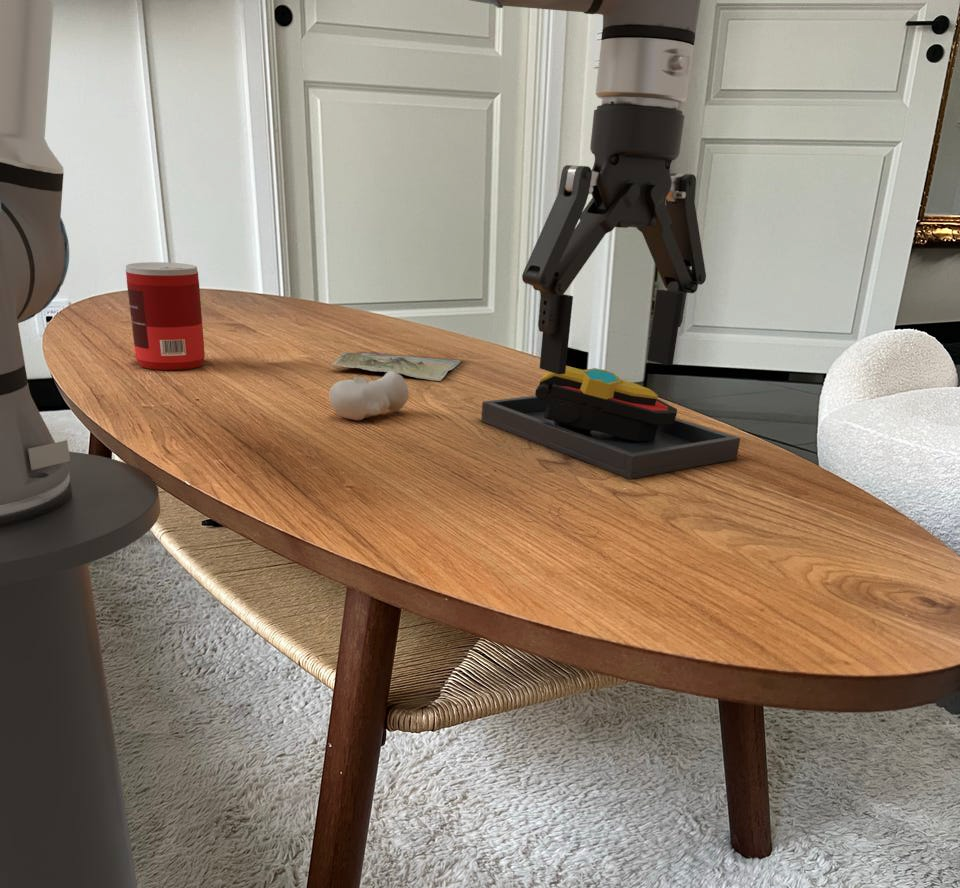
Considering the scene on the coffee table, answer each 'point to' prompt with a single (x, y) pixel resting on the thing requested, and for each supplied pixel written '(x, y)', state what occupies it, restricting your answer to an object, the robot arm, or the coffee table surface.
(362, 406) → the smooth white sculpture
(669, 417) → the gadget
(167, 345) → the canned food
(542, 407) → the dark gray tray
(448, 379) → the coffee table surface
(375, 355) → the topographic map
